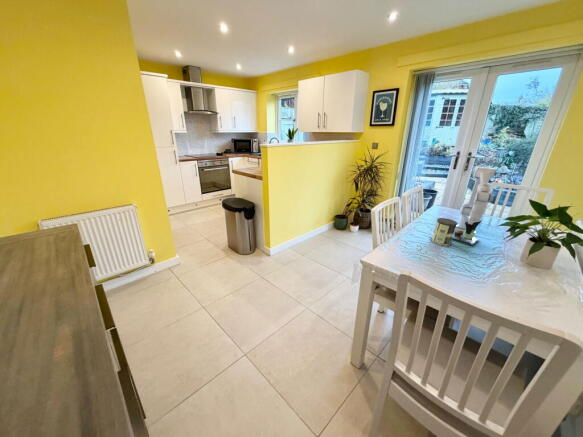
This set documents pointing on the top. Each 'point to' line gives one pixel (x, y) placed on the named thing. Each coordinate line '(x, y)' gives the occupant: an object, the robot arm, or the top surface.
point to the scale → (458, 238)
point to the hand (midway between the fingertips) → (469, 232)
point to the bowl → (469, 236)
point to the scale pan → (467, 239)
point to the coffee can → (444, 231)
